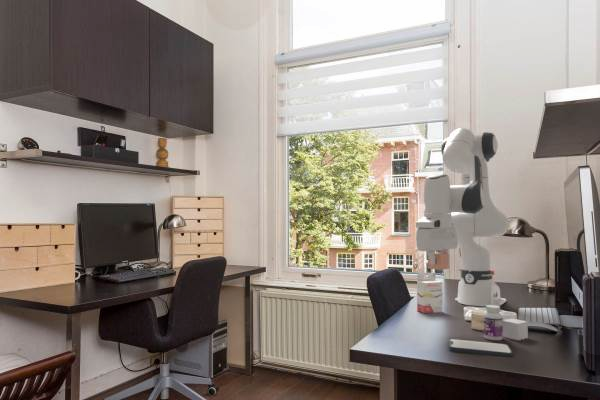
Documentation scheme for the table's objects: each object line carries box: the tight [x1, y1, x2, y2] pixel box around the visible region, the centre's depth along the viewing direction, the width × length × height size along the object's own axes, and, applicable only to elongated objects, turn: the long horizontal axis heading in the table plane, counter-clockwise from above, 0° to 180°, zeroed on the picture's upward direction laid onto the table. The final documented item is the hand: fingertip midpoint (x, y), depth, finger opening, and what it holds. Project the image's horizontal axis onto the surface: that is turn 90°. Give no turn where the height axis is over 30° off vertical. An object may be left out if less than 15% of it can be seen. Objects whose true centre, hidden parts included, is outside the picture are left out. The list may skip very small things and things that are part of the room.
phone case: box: [448, 338, 514, 357], centre depth 121 cm, size 9×2×16 cm
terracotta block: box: [427, 252, 450, 271], centre depth 146 cm, size 5×5×5 cm
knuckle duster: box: [463, 306, 518, 322], centre depth 155 cm, size 3×18×15 cm
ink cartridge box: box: [416, 272, 443, 314], centre depth 169 cm, size 9×5×15 cm, turn 108°
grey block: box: [503, 318, 529, 341], centre depth 133 cm, size 5×5×5 cm
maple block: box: [470, 311, 485, 331], centre depth 144 cm, size 5×5×5 cm
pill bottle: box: [483, 305, 504, 341], centre depth 132 cm, size 5×5×10 cm
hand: (438, 263), depth 146 cm, fingers closed on terracotta block, 5 cm apart
